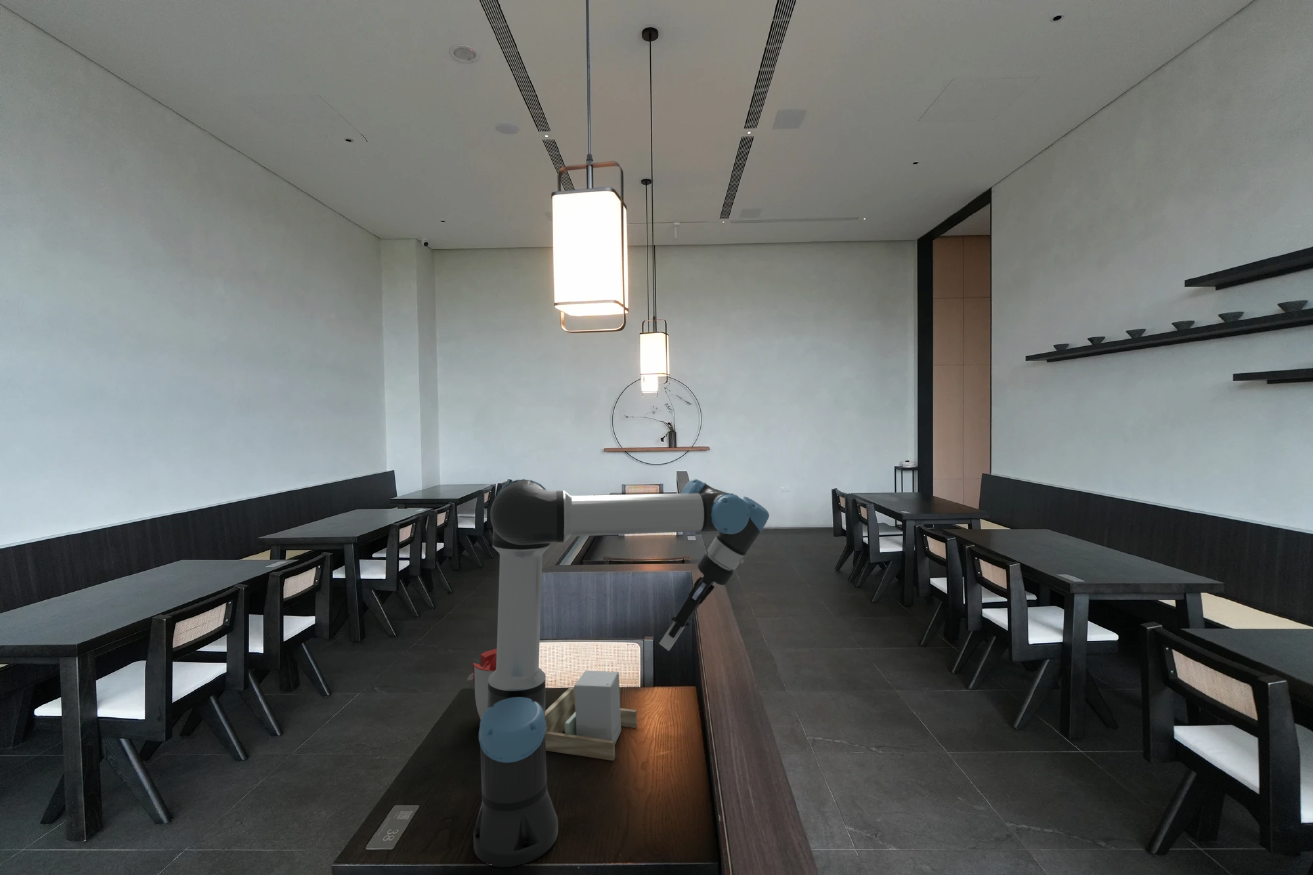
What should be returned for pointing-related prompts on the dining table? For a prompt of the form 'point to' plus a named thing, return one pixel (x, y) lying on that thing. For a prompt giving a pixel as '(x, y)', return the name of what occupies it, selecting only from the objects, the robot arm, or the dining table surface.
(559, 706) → the pusher lane
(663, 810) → the dining table surface
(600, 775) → the dining table surface
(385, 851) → the dining table surface
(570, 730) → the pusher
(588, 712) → the supplement box
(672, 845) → the dining table surface
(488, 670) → the citrus juicer
